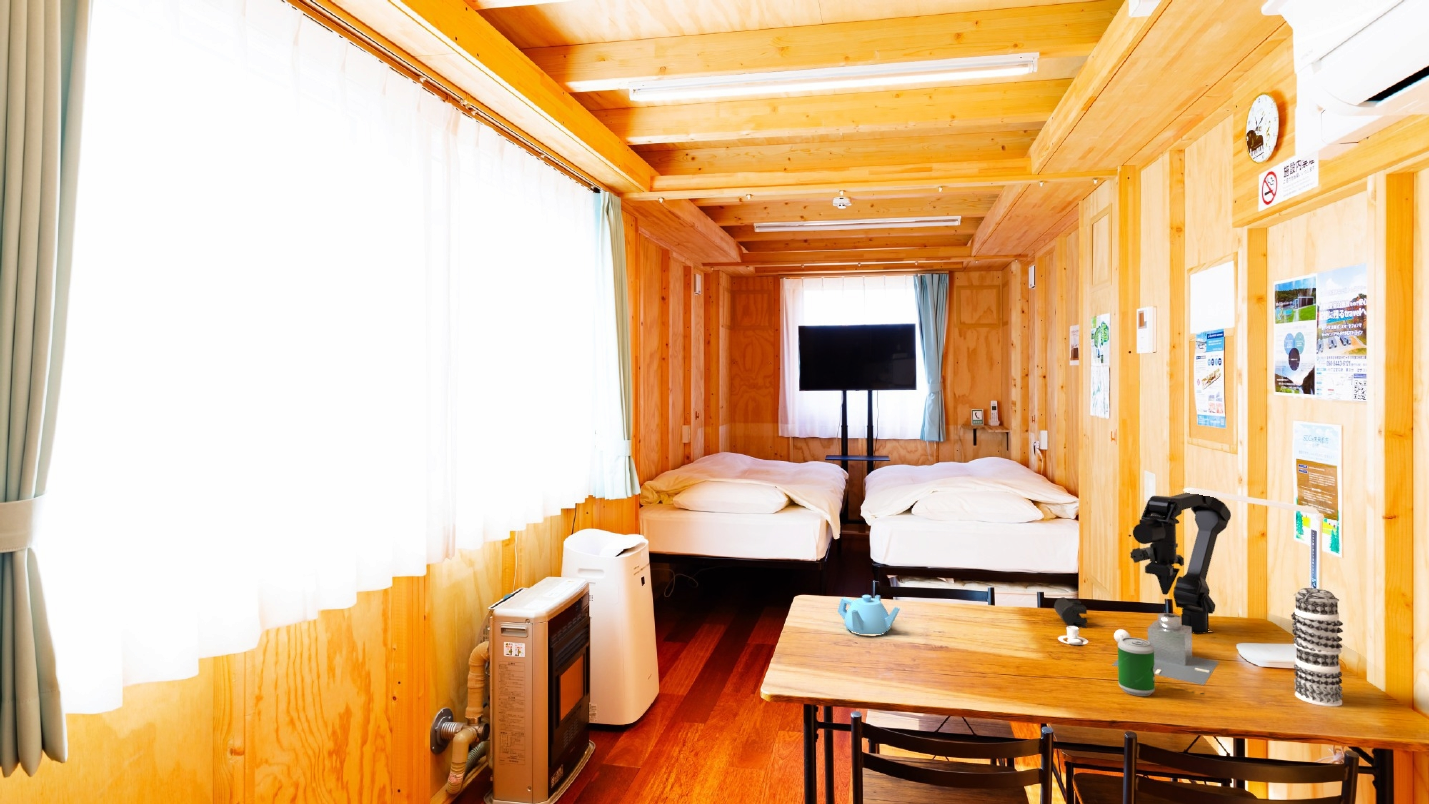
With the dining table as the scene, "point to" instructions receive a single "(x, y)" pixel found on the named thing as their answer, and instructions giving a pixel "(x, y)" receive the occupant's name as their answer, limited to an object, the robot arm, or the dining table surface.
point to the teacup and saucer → (1073, 636)
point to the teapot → (866, 615)
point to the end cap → (1071, 612)
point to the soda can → (1136, 666)
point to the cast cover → (1170, 639)
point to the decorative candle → (1317, 647)
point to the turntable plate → (1178, 666)
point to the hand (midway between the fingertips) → (1165, 593)
